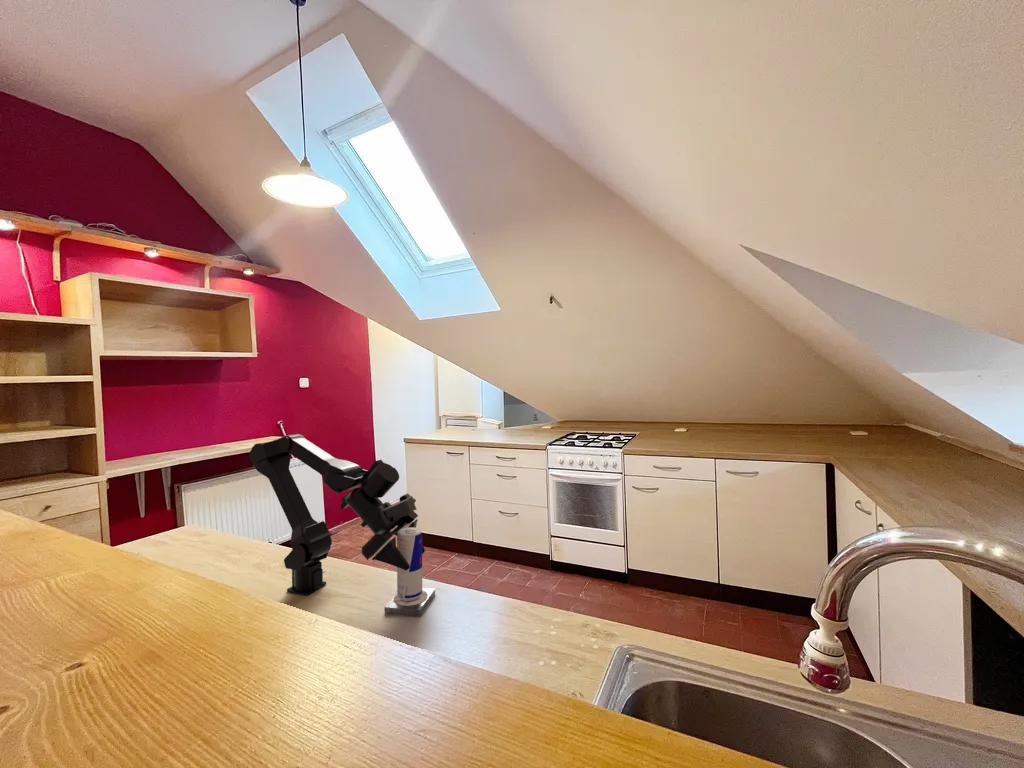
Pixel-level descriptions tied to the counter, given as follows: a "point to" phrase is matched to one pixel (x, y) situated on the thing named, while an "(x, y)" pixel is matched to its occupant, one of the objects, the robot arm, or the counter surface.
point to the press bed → (410, 604)
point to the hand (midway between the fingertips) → (416, 560)
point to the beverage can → (412, 552)
